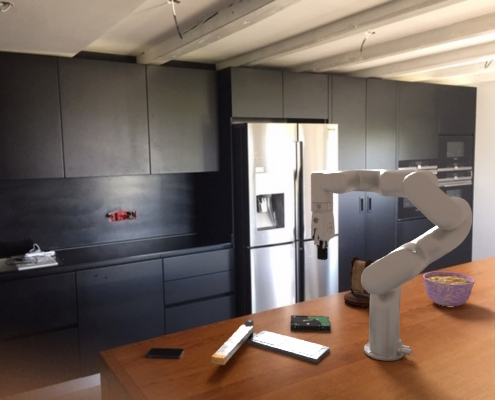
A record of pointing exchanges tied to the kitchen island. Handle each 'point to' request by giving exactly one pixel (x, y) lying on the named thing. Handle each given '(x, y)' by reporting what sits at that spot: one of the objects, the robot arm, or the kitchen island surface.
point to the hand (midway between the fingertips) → (322, 259)
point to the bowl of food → (448, 287)
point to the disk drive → (310, 323)
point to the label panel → (289, 346)
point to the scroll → (358, 284)
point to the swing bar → (233, 343)
